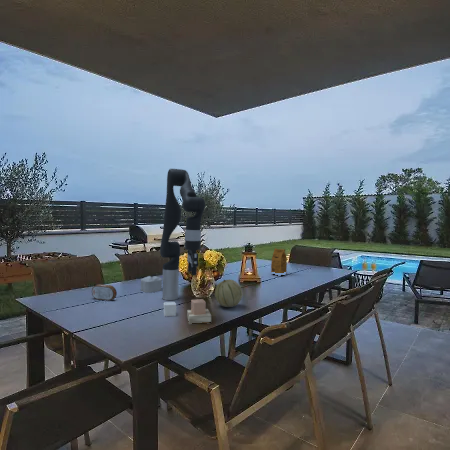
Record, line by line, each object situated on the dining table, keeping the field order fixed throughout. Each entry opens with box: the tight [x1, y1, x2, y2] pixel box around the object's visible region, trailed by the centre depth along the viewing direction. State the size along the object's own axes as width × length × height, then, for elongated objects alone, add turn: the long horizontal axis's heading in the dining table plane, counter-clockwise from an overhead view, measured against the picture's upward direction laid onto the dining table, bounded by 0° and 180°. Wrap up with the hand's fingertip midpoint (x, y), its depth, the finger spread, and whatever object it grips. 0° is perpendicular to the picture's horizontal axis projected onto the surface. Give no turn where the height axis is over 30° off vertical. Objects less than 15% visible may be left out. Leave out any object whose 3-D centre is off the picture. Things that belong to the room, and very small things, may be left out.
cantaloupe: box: [214, 279, 243, 308], centre depth 174 cm, size 15×15×15 cm
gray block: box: [186, 308, 212, 325], centre depth 151 cm, size 10×10×4 cm
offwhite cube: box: [163, 301, 177, 317], centre depth 159 cm, size 6×6×6 cm
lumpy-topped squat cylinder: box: [140, 275, 163, 294], centre depth 208 cm, size 10×13×9 cm
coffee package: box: [270, 247, 288, 273], centre depth 267 cm, size 10×12×22 cm
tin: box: [91, 283, 118, 301], centre depth 184 cm, size 15×3×8 cm, turn 74°
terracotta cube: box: [190, 298, 207, 315], centre depth 151 cm, size 6×6×6 cm
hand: (192, 273), depth 154 cm, fingers open, 8 cm apart
